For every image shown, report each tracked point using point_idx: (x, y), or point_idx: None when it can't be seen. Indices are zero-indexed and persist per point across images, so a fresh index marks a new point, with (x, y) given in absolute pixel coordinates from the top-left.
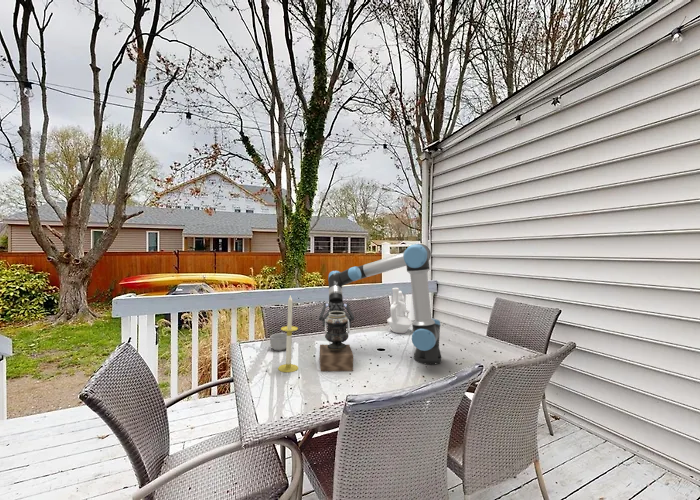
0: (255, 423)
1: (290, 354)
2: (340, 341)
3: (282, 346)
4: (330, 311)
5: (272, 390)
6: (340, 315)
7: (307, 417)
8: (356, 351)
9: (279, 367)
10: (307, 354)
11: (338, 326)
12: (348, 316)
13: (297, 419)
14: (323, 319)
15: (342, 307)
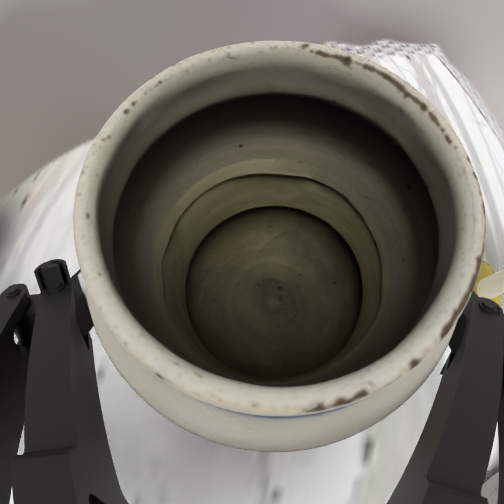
0: (440, 57)
1: (501, 271)
2: (256, 211)
3: (497, 476)
4: (429, 458)
5: (468, 144)
6: (231, 54)
7: (361, 47)
8: (140, 479)
9: (498, 296)
10: (396, 464)
11: (271, 151)
12: (50, 311)
13: (378, 47)
14: (482, 304)
15: (18, 494)
